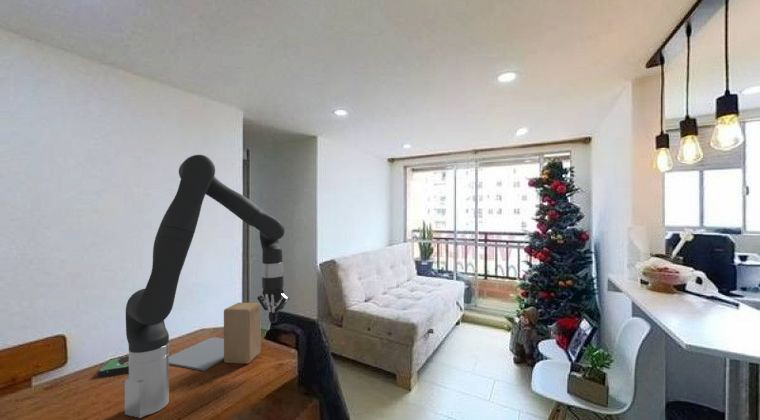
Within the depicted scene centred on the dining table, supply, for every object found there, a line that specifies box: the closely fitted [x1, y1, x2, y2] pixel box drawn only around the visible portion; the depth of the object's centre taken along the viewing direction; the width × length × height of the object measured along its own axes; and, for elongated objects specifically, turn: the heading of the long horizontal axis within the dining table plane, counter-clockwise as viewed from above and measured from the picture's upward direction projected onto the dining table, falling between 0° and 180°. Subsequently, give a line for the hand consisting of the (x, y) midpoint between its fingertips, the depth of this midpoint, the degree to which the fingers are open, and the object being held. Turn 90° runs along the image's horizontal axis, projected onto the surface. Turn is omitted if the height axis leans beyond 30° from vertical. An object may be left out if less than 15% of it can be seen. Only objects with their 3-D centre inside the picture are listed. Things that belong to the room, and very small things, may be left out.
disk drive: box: [96, 355, 129, 378], centre depth 114 cm, size 10×3×15 cm
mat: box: [169, 336, 224, 372], centre depth 125 cm, size 24×22×1 cm
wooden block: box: [223, 302, 262, 365], centre depth 119 cm, size 10×10×20 cm
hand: (273, 321), depth 115 cm, fingers closed
